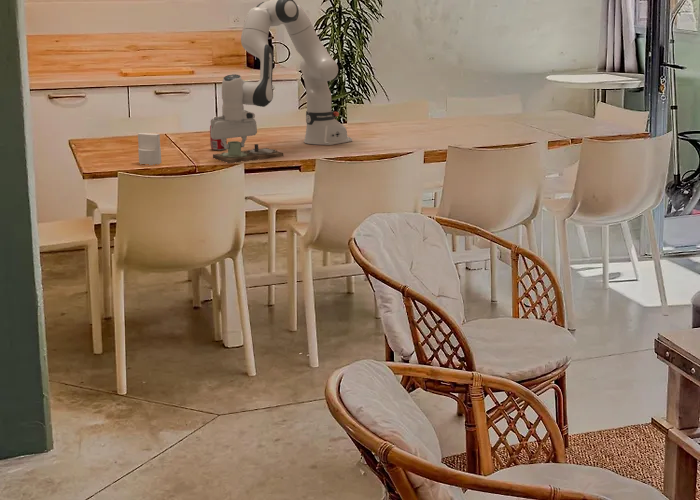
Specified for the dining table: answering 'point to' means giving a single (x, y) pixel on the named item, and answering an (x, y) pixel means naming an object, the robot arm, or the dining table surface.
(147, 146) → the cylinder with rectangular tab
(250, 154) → the gear board
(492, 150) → the dining table surface
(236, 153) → the green cube
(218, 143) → the soda can
